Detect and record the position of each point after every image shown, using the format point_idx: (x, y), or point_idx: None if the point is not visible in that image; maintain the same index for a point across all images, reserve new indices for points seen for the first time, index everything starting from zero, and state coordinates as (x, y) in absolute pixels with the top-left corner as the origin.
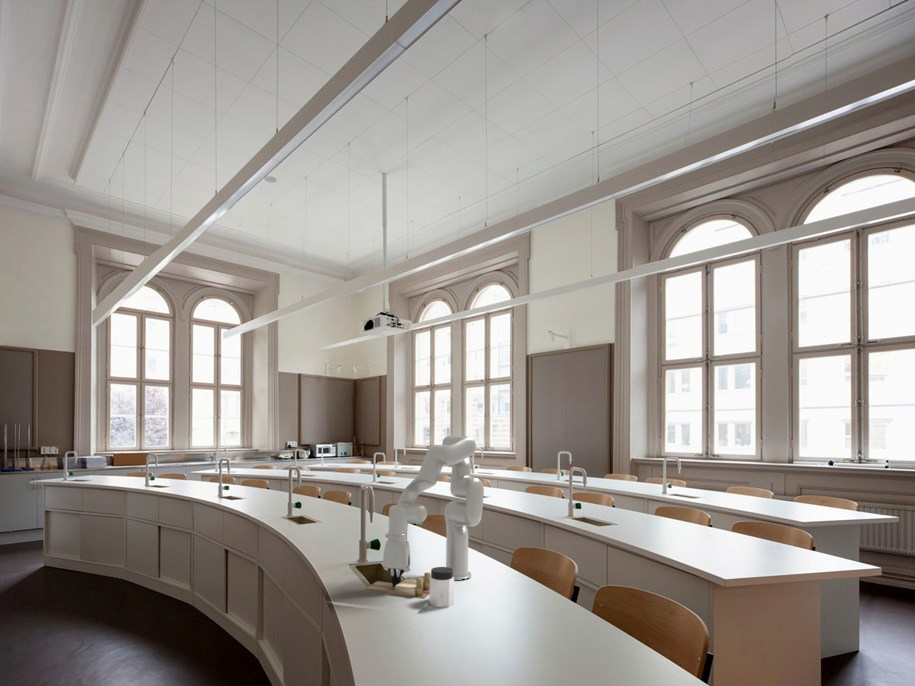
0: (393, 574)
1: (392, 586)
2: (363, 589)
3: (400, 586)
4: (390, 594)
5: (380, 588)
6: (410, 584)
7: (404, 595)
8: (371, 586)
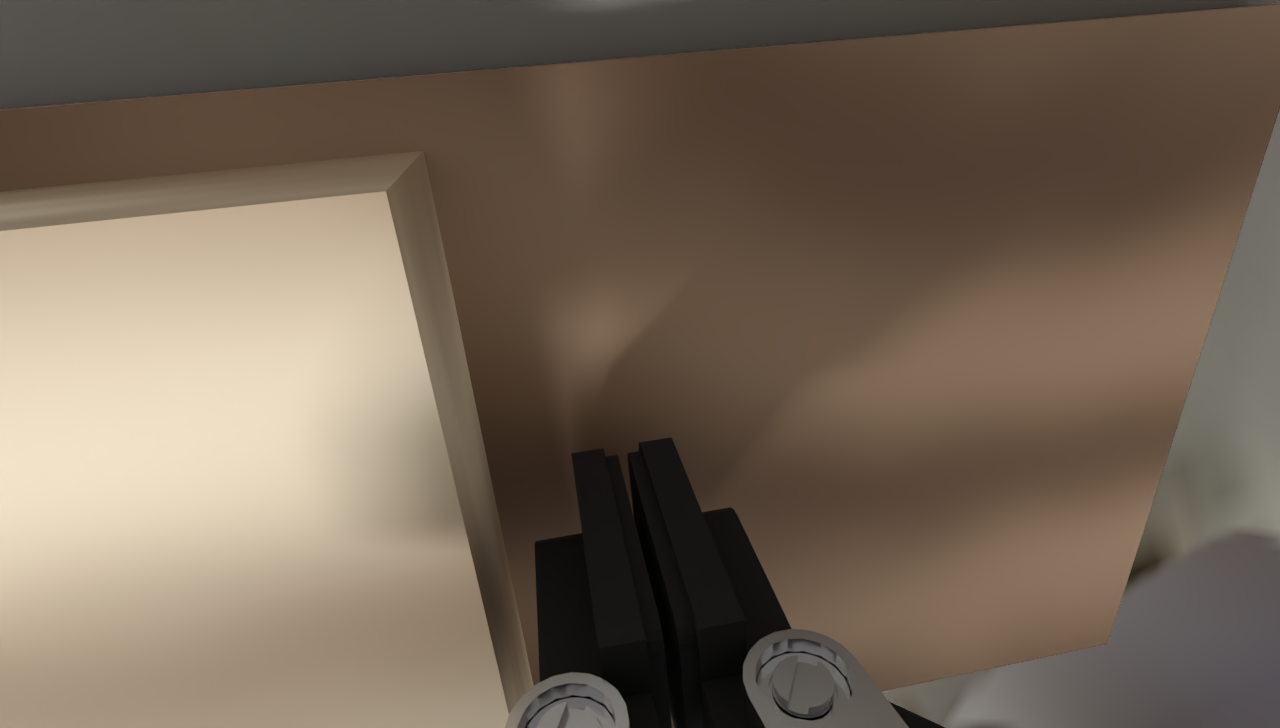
0: (762, 700)
1: (766, 568)
2: (1272, 127)
3: (151, 231)
4: (513, 70)
5: (940, 366)
6: (39, 578)
7: (103, 175)
8: (1144, 383)
